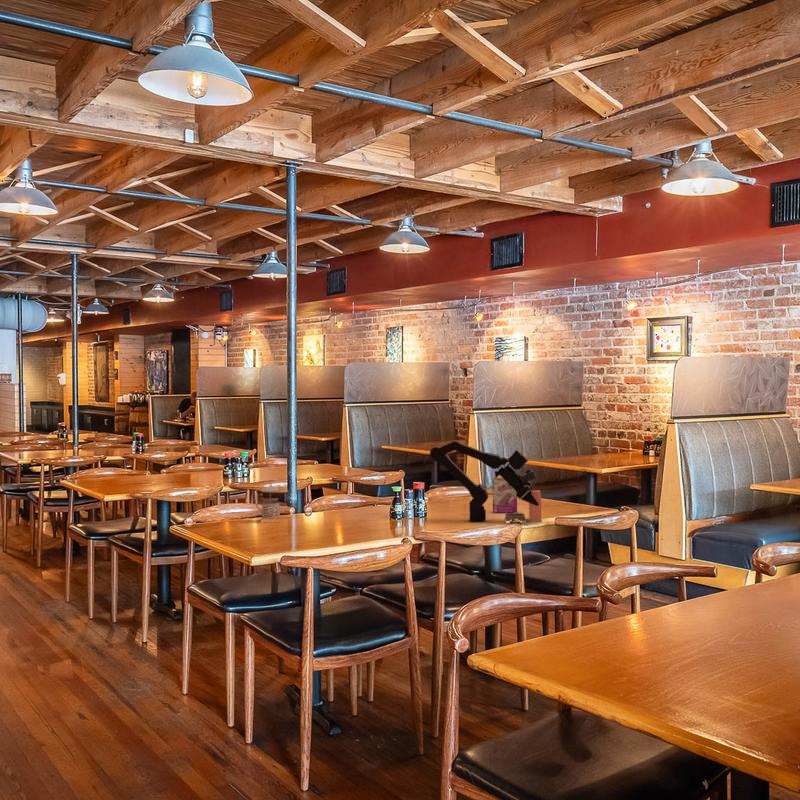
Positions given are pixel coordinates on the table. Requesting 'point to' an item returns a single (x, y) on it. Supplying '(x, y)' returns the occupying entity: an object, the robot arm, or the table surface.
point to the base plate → (515, 517)
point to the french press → (269, 503)
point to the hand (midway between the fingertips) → (538, 503)
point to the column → (535, 507)
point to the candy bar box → (503, 496)
